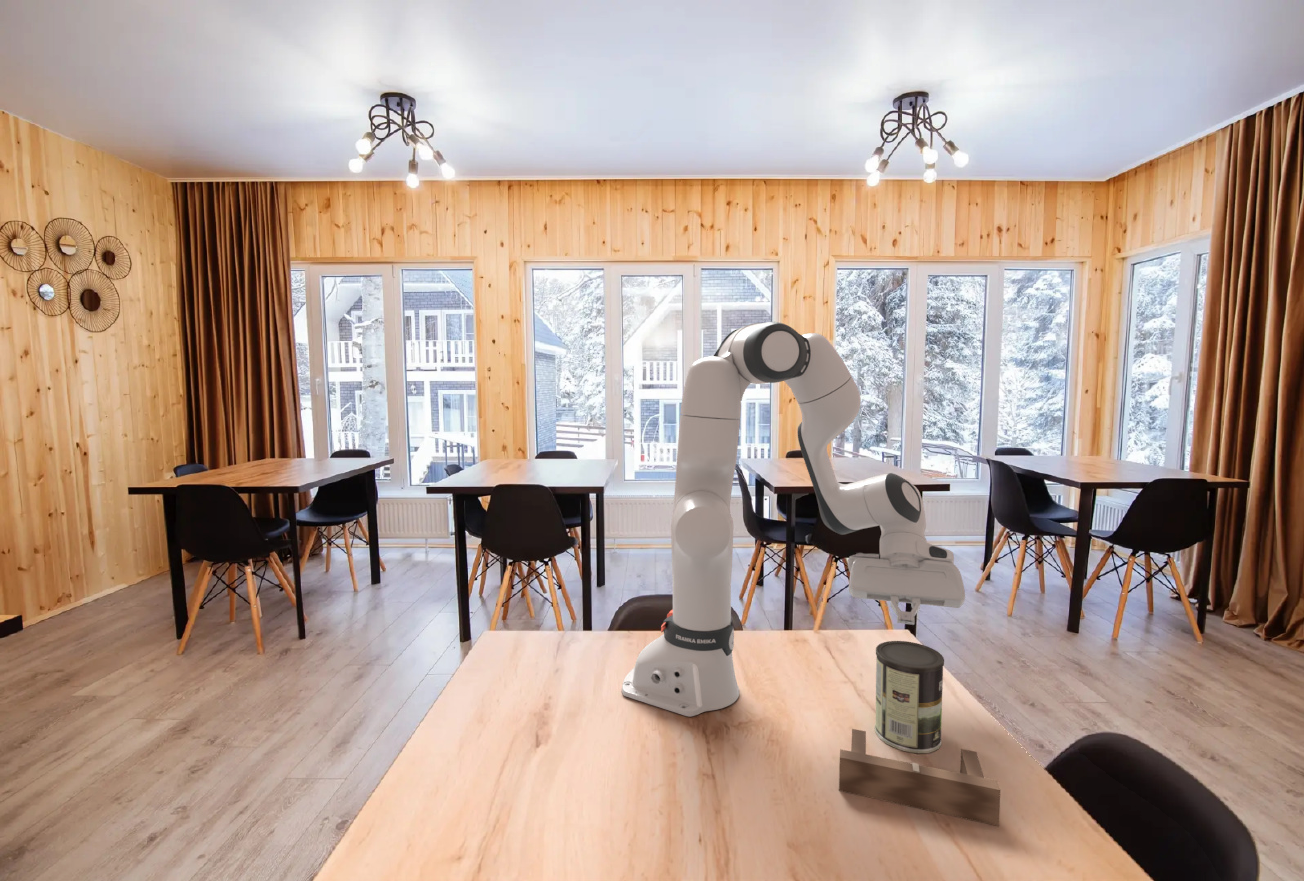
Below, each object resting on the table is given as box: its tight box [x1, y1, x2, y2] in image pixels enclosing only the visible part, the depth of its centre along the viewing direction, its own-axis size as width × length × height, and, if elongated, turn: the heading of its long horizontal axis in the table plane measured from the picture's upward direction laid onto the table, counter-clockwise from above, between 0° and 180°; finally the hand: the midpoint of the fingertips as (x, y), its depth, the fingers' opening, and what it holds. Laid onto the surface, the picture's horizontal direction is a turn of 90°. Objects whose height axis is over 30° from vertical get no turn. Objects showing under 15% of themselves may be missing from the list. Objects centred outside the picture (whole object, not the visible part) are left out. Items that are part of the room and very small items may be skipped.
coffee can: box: [874, 640, 945, 754], centre depth 95 cm, size 10×10×14 cm
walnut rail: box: [838, 728, 1001, 827], centre depth 82 cm, size 20×8×5 cm, turn 69°
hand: (905, 622), depth 105 cm, fingers closed
